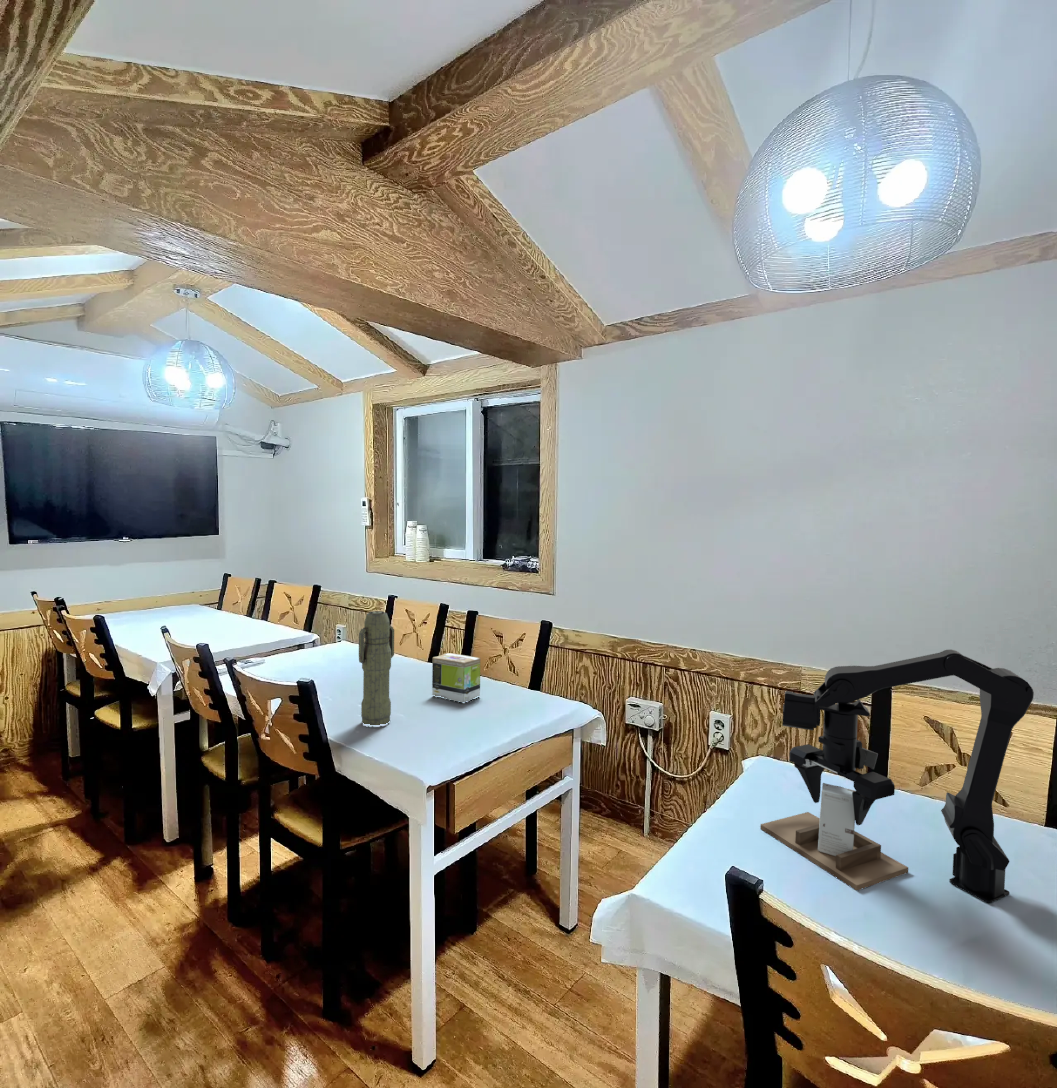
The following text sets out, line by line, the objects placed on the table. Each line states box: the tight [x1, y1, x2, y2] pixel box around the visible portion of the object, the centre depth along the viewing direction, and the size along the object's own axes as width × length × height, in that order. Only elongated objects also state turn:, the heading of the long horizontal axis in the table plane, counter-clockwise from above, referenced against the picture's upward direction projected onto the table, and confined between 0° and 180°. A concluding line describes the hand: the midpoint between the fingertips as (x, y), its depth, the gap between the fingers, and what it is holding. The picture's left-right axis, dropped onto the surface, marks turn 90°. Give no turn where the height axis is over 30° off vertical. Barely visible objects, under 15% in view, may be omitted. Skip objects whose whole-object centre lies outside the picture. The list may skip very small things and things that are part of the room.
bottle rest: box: [760, 811, 909, 891], centre depth 114 cm, size 22×14×4 cm, turn 24°
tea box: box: [431, 652, 481, 702], centre depth 208 cm, size 15×10×15 cm, turn 58°
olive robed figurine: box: [358, 610, 395, 725], centre depth 179 cm, size 9×12×35 cm
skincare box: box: [818, 782, 856, 856], centre depth 111 cm, size 6×4×12 cm
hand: (836, 813), depth 111 cm, fingers open, 9 cm apart
